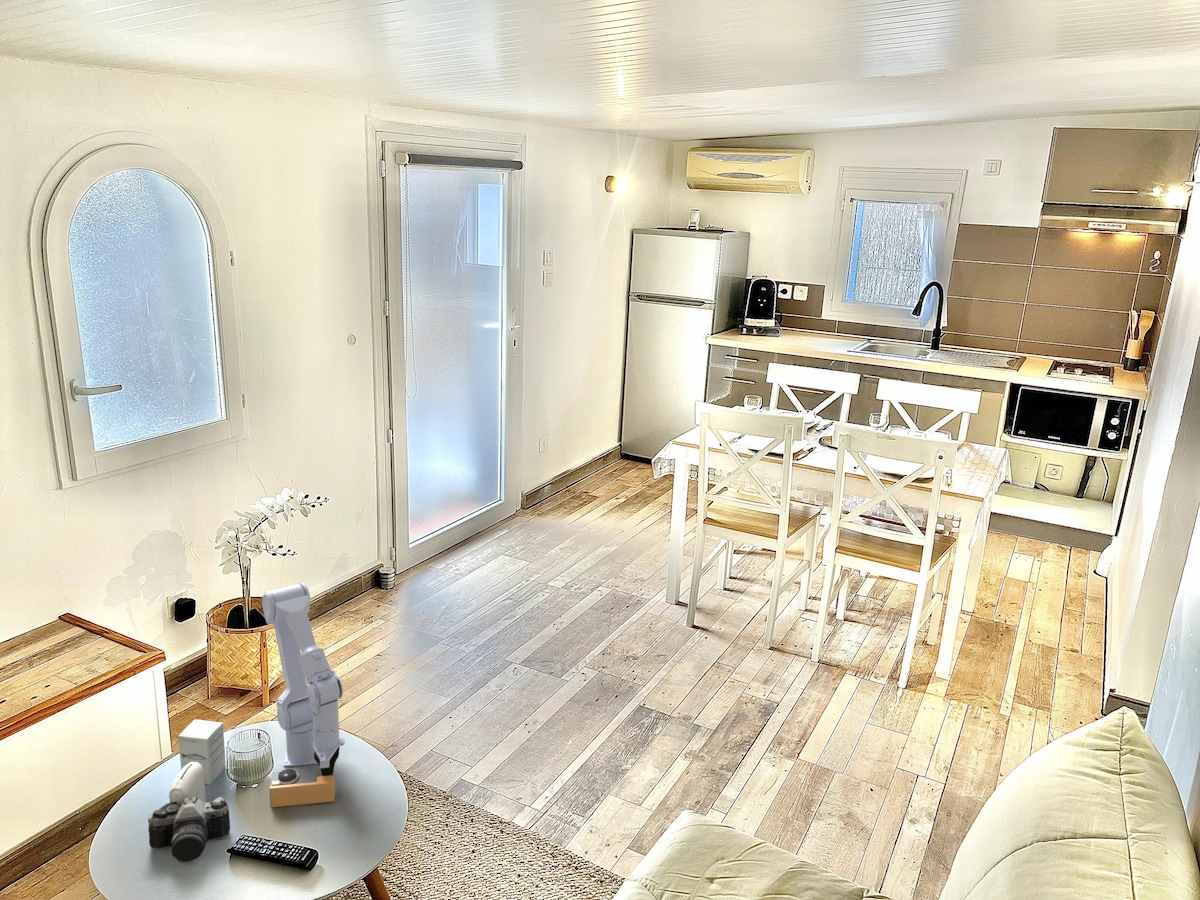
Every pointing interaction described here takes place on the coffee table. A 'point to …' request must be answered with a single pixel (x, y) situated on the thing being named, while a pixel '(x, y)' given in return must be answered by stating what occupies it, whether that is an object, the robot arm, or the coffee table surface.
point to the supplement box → (203, 747)
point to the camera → (188, 826)
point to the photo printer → (188, 784)
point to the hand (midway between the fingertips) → (327, 775)
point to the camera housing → (293, 777)
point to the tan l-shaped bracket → (304, 792)
